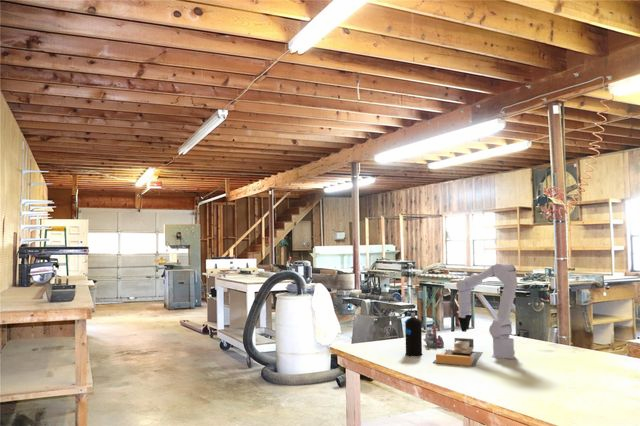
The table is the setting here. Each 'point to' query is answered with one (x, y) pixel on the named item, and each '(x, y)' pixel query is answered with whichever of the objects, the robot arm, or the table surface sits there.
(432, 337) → the brake caliper
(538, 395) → the table surface
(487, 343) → the table surface
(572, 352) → the table surface
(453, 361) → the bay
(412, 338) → the aerosol can
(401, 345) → the table surface
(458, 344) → the grey beige angular piece
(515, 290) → the robot arm
